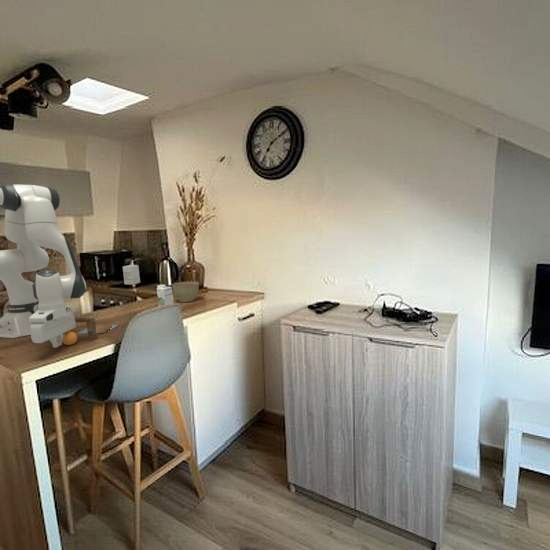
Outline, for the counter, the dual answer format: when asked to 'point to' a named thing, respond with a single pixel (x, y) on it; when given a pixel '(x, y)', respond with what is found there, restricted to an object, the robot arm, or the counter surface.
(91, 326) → the bridge
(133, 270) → the supplement box
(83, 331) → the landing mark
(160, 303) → the syrup box
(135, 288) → the counter surface
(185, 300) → the planter bowl
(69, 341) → the ball
